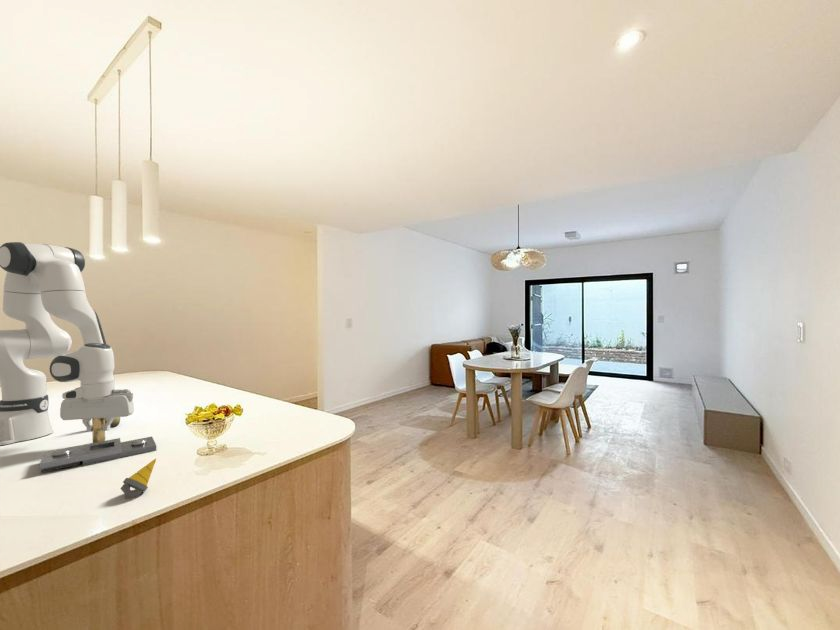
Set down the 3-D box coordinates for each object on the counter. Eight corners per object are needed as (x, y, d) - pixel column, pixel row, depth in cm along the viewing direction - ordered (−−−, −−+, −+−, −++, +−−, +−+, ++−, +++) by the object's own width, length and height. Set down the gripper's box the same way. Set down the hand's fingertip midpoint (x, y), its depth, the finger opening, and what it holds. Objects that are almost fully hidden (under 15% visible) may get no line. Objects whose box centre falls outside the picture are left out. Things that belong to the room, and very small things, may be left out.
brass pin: (90, 444, 122) (89, 415, 122) (96, 441, 126) (96, 412, 126) (101, 443, 123) (100, 414, 123) (107, 440, 126) (106, 412, 126)
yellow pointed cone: (116, 497, 88) (148, 457, 94) (138, 505, 88) (168, 465, 95) (110, 491, 84) (143, 451, 90) (132, 500, 84) (164, 459, 91)
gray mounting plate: (39, 474, 99) (39, 461, 99) (44, 461, 108) (44, 449, 108) (156, 450, 117) (156, 438, 117) (152, 440, 126) (151, 429, 126)
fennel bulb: (119, 423, 146) (119, 394, 146) (122, 426, 143) (122, 395, 143) (100, 427, 142) (100, 396, 142) (103, 429, 139) (103, 398, 139)
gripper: (137, 387, 129) (138, 425, 130) (70, 390, 125) (70, 430, 125) (127, 390, 123) (127, 431, 123) (56, 394, 119) (56, 436, 119)
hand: (98, 430), depth 124 cm, fingers closed on brass pin, 3 cm apart
